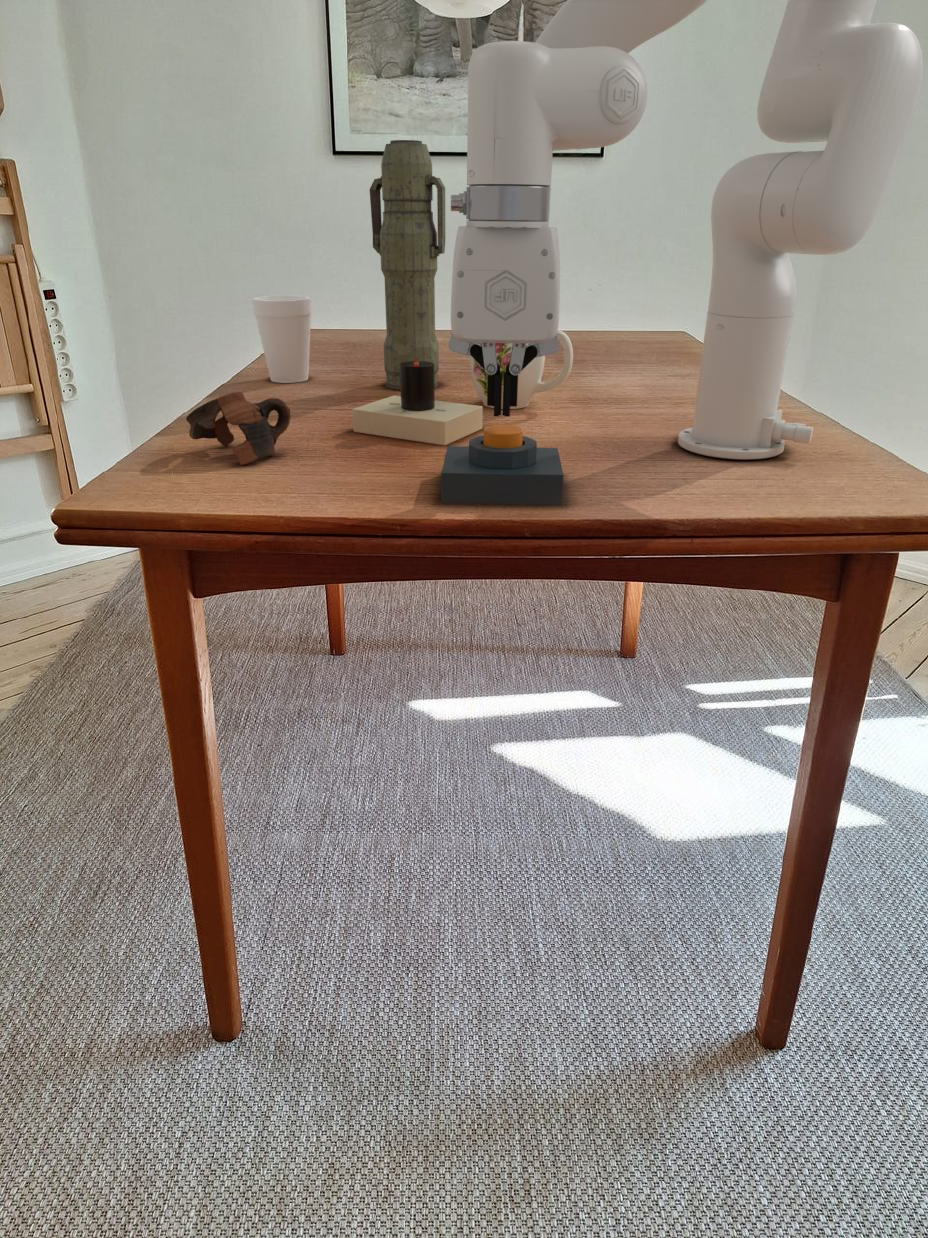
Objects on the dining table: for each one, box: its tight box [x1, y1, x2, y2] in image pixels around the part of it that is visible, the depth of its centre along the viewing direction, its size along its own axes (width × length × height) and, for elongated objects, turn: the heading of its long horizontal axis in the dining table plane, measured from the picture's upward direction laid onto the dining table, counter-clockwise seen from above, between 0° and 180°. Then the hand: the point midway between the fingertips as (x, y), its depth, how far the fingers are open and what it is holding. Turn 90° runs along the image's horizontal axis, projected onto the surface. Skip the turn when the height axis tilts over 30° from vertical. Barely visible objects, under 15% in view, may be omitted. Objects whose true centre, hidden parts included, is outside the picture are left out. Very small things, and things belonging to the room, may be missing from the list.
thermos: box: [369, 139, 446, 391], centre depth 127 cm, size 9×12×35 cm
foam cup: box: [251, 294, 313, 384], centre depth 136 cm, size 10×9×13 cm
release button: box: [482, 424, 524, 448], centre depth 83 cm, size 4×4×2 cm
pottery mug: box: [185, 391, 292, 466], centre depth 97 cm, size 12×10×8 cm
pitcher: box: [469, 329, 574, 410], centre depth 118 cm, size 11×18×14 cm, turn 65°
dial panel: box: [351, 394, 484, 446], centre depth 107 cm, size 14×10×3 cm
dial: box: [400, 361, 436, 411], centre depth 105 cm, size 4×4×6 cm
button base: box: [440, 435, 564, 506], centre depth 84 cm, size 12×10×5 cm
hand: (501, 413), depth 82 cm, fingers closed
